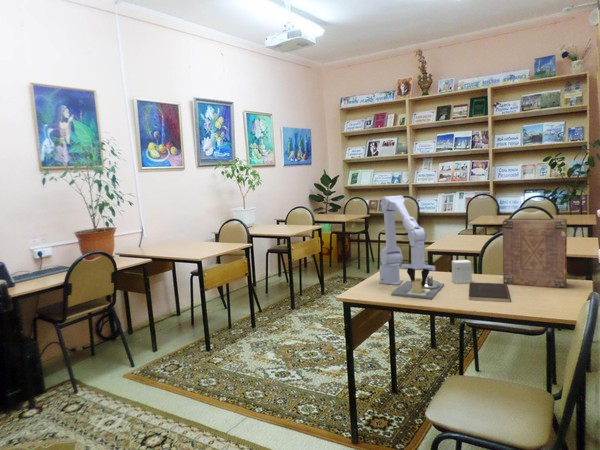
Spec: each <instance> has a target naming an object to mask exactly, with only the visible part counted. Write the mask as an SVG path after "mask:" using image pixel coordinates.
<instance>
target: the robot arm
mask: <svg viewBox="0 0 600 450" xmlns="http://www.w3.org/2000/svg"><path fill="white" fill-rule="evenodd" d="M405 204H406V200H405V197H404V196H403V195H401V194H400V195H388V196H386V195H385V196H383V197H382V198H381V200H380V206H381V207H380V209H381V213H382V214H383V218H384V219H383V220H384V221H383V222H384V232H385V233H384V234H385V246H384V247H383V248H382V249H381V251H380V253H381V254H380V261H381V265H380V266H379V284H385V285H386V284H387V285H396V286H397V285H399V284H401V283H402V282H403V280H402V279H400V273H401V272H400V266H401V270H406V273H407V275H408V276H409V278H410V281H411V282H412V281H413V280H414V279H415V278H416V270H420V272H421V278H422V286H425V283H426V280H427V277H428V276H429V273H430V271H432V272H435V271H436V265H431V264H425V263H426V262H425V261H426V259H425V241H426V240H427V238H428V235H427V234H428V233H427V231H426V229H425V228H423V227H422V226H420V225H419V223H418V222H417V221H416V219H415V217H414V216H410V213H409V211H408V210H407V207H406V206H405ZM396 213H397V214H398V215H399V216H400V217H399V218H401V220H402V225H403V227H404V229H405V230H406V232H407V238H408V241H409V246H410V253H411V254H410V256H411V257H410V258H411V259H410V261H411V263H403V260H404V257H403V254H402V248H400V247H399V246H397V234H396V233H397V232H396V219H395V217H396V216H395V215H396Z"/></svg>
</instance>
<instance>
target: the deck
mask: <svg viewBox="0 0 600 450" xmlns="http://www.w3.org/2000/svg"><path fill="white" fill-rule="evenodd" d="M444 287H445V283H443V282H441V283H440V287H438V288H434V289H430V292H429V293H428V294H427V295H426V296H421V295H410V294H407V293H408V292H409V291H410V290H411V289H412V285H411V280H406V281H405V282H404V283H402V284H401V285H400V286H398V287H397V288H395V290H394V291H392V292H391V294H390V295H391V296H392V297H393V296H395V297H404V298H414V299H422V300H424V299H425V300H433V298H434V297H435V296H437V294H438V293H439V292H441V290H442V289H443V288H444Z"/></svg>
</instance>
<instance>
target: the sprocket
mask: <svg viewBox="0 0 600 450" xmlns="http://www.w3.org/2000/svg"><path fill="white" fill-rule="evenodd" d="M433 277H434V276H431V275H430V276H429V275H428V276H427V279H426V283H425V289H434V288H438V287H440V281H438V280H434V279H433ZM411 285H412V282H411Z"/></svg>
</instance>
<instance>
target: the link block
mask: <svg viewBox="0 0 600 450" xmlns="http://www.w3.org/2000/svg"><path fill="white" fill-rule="evenodd" d="M424 290H425V286H422V277H415V279H414V280H413V281H412V292H416V293H422V292H423V291H424Z"/></svg>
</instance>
